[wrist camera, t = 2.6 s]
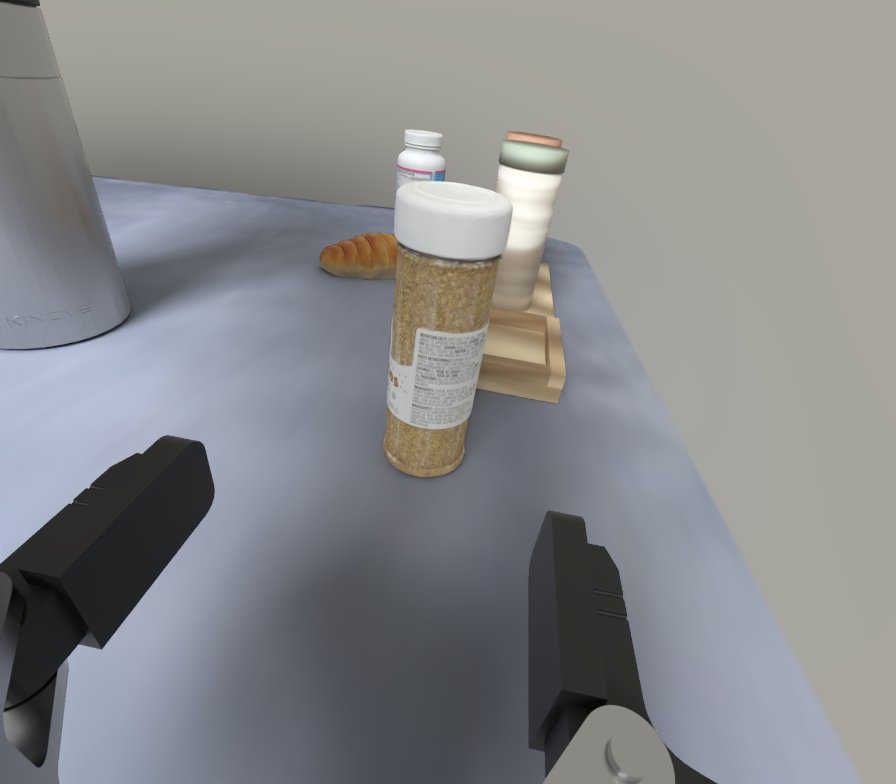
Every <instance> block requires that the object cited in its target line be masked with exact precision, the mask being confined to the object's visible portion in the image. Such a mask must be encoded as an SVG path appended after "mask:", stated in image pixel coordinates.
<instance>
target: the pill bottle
mask: <svg viewBox="0 0 896 784" xmlns="http://www.w3.org/2000/svg"><path fill="white" fill-rule="evenodd" d="M404 141H405V145H406V150H405V151H403V152H402V153H401V154H400V155H399V157H398V164H397V185H396V194H397V190H398V189H399V188H400V187H401V186H402V185H404V184H407V183H410V182H417V181H442V182H444V179H445V168H446V163H445V160H444V158H443V157H442V156H441V155H440V154H439V150H440V149H441V146H442V142H443V135H441V134H438V133H434V132H429V131H421V130H406V131H405V139H404Z"/></svg>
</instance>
